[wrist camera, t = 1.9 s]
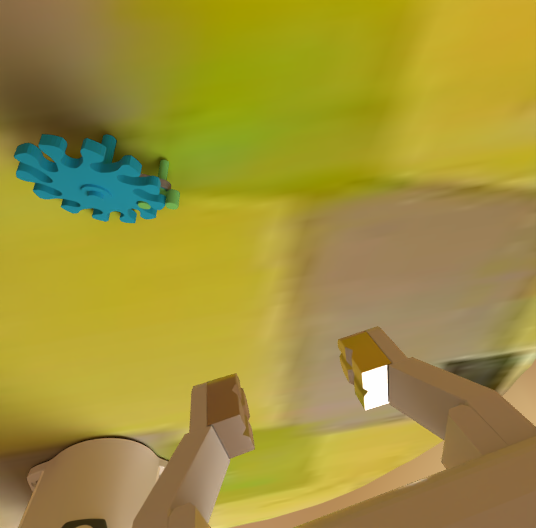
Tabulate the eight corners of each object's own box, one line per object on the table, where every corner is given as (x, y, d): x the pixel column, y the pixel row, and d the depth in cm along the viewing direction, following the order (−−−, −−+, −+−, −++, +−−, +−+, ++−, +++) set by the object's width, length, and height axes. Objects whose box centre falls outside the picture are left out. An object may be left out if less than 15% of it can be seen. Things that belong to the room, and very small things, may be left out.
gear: (31, 214, 23) (-18, 129, 15) (49, 157, 25) (15, 55, 17) (167, 238, 28) (188, 185, 20) (174, 189, 30) (195, 121, 22)
